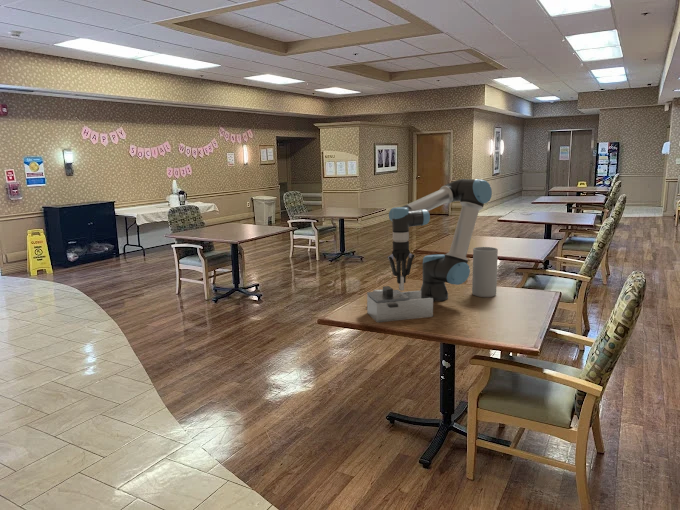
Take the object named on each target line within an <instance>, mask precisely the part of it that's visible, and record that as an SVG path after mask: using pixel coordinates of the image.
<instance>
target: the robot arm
mask: <svg viewBox="0 0 680 510" xmlns="http://www.w3.org/2000/svg"><path fill="white" fill-rule="evenodd" d="M492 189H493V188H492V187H491V184H490V183H489V182H488V181H486V180H484V179H480V178H474V179H473V178H472V179H471V178H461V179H457V180H454V181H451V182H449V183H447V184H444V185H442V186H441V187H440V188H439V190H436V191H433V192H431V193H429V194H427V195H425V196H423V197H420V198H418V199H416V200H414V201H411V202H410V203H407V204H404V205H403V206H400V207H399V206H396V207H392V208H390V210H389V212H388V219H389V220H390V221H391V223H392V225H391V226H392V227H391V228H392V251H391V254H390V255H388V256H387V259H388V261H389V264H390V267H391V271H392V275H393V276H395V277H396V283H397V284H398V290H399V291H400V292H404V291H405V283H407V281H406V280H407V279H406V277H407V276H409V275H410V273H411V268H412V265H413V263H412V262H413V260H414V259H415V254H413V253H411V251H410V241H409V240H410V235H409V234H410V227H418V226H424V225H427V224H429V223H430V221H431V217H430V216H431V215H430V211H432V210H433V209H435V208H438V207H440V206H442V205H445V204H451V203H453V202H459V204H460V205H461V210H460V212H459V216H458V220H457V223H456V227H455V230H454V233H453V238H452V242H451V243H450V244H451V245H450V248H449V251H448V252H447V253H445V254H441V253H440V254H427V255H425V256H423V258H422V263H421V264H422V284H421V286H420V290H421V299H422V298H433V302H443V301H446V300H448V299H449V293H448V289H447V286H446V283H448V284H450V285H456V286H458V285H462V284H464V283H465V282H466V281H467V280H468V278H469V276H470V272H471V269H470V265H469V264H468V262H469V259H468V258H467V255H468V251H469V247H470V243H471V240H472V238H473V237H472V236H473V232H474V229H475V226H476V222H477V219H478V216H479V212H480V211H481V210H483V209H484V205H486V204H487V203H489V202H490V201H491V199H492V195H493V191H492ZM407 258H408V259H407ZM394 259H395V261H394ZM395 262H396V265H395Z"/></svg>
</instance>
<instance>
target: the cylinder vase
mask: <svg viewBox="0 0 680 510" xmlns="http://www.w3.org/2000/svg"><path fill="white" fill-rule="evenodd" d="M498 249H499V248H496V247H493V246H492V247H490V246H478V247H474V248H472V250H473V252H472V281H471V285H472V287H471V294H472V295H473V296H475V297H480V298H493V297H495V296H496V295H497V284H498V281H497V280H498Z"/></svg>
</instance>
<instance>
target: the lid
mask: <svg viewBox="0 0 680 510" xmlns="http://www.w3.org/2000/svg"><path fill="white" fill-rule="evenodd" d="M382 290H383V291H377V292H373V291H368V292H366V295H368V296H370V297H371V298H372V299H373V300H374V301H376V302H377V303H381V302H392V301H403V300H410V298H409V297H408V296H406V295H405V294H403V293H402V292H403V291H401V290H399V289H394V288H392V287H391V286H390V285H386V286H382Z"/></svg>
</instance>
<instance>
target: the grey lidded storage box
mask: <svg viewBox="0 0 680 510" xmlns="http://www.w3.org/2000/svg"><path fill="white" fill-rule="evenodd" d="M401 292H402V293H403V294H405V295H406V296H408V297H409V298H410V300H403V301H392V302H381V303H377V302H376V301H374V300H373V299H372V298H371V297H370V296H368V295H367V294H366V295H367V296H366V301H367V303H366V307H367V309H366V310H367V314H368V315H369V317H371V319H373V320H374V321H375V322H376V323H384V322H385V323H386V322H395V321H403V320H404V321H405V320H414V319H423V318H424V319H425V318H432V317H434V301H433V298H422V299H421V289H420V290H410V291H401Z"/></svg>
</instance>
